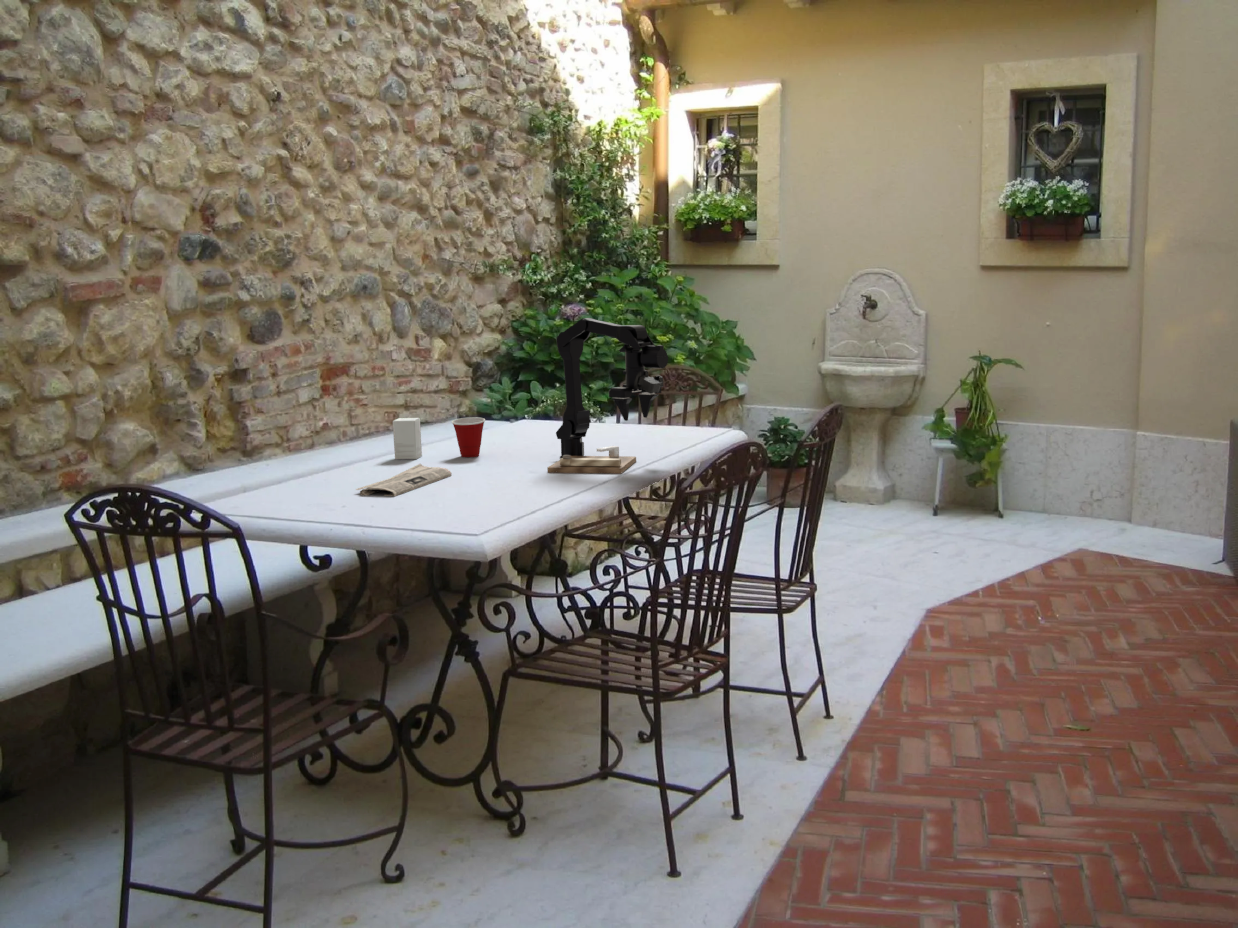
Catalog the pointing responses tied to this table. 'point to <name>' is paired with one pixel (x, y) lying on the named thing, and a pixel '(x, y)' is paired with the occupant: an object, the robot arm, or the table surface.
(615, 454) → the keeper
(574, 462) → the link
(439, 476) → the newspaper
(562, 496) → the table surface
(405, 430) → the supplement box
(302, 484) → the table surface
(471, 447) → the plastic cup
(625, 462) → the board
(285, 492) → the table surface
